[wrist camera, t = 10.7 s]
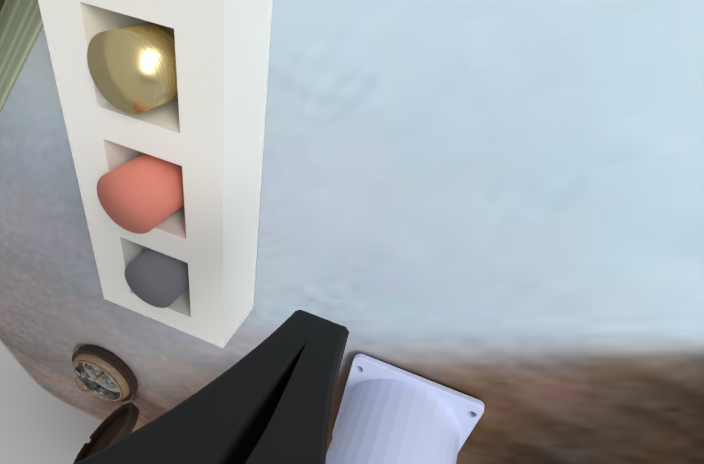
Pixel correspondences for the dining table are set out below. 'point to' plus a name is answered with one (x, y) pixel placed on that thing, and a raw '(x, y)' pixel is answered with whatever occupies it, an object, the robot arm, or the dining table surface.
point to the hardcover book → (16, 39)
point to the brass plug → (134, 66)
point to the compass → (106, 395)
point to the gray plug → (157, 278)
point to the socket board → (176, 149)
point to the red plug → (141, 193)
